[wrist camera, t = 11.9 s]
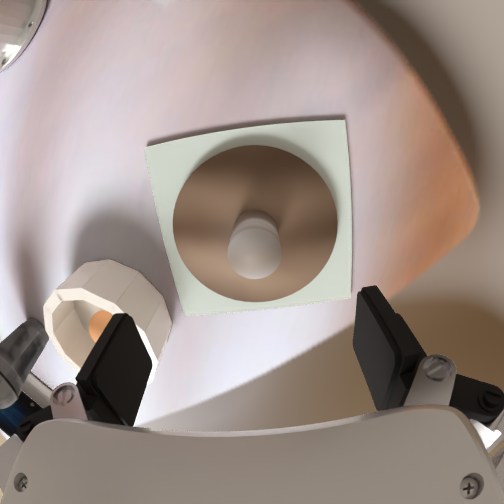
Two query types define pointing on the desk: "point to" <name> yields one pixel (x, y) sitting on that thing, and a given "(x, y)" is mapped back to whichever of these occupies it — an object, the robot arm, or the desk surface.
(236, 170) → the lid
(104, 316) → the ball
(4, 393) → the beverage cup
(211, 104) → the desk surface
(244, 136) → the mat
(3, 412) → the laptop
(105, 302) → the bowl
